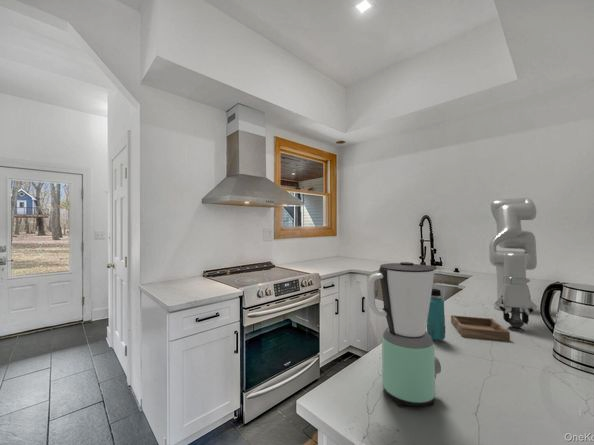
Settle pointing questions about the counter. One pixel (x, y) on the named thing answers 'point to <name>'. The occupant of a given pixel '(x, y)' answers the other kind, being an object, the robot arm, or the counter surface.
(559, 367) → the counter surface
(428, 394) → the mint green blender
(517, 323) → the dark grey rounded piece
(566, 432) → the counter surface
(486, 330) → the tray
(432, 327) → the beverage bottle
